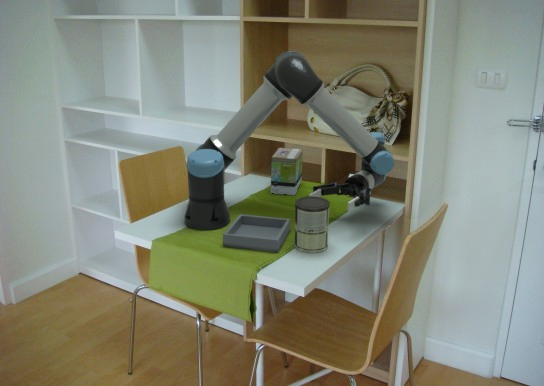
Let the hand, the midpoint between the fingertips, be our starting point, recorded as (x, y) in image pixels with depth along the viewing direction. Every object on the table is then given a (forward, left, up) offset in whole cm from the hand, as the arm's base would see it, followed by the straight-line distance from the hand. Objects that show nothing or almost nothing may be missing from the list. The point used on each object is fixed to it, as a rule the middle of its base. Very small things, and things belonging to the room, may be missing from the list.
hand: (328, 202), depth 175 cm
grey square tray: (-21, -8, -11) cm, 25 cm away
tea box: (-23, +41, -11) cm, 48 cm away
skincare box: (+4, +41, -11) cm, 43 cm away
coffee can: (-4, -9, -11) cm, 15 cm away
